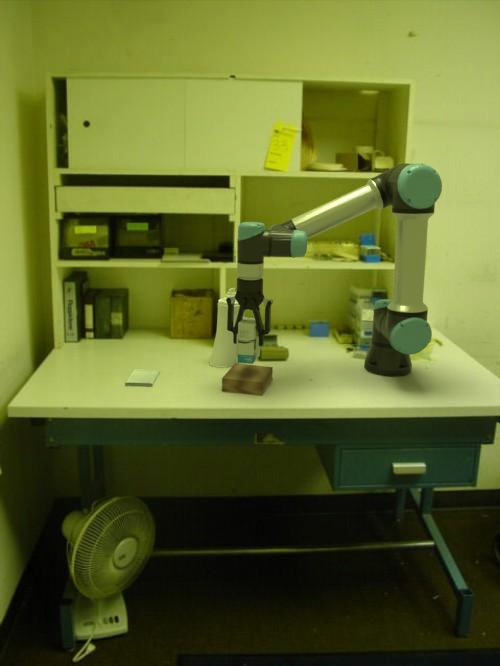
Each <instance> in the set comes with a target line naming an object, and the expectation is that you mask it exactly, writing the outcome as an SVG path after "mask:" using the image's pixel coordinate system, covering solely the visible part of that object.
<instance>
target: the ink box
mask: <svg viewBox="0 0 500 666" xmlns="http://www.w3.org/2000/svg"><path fill="white" fill-rule="evenodd" d="M257 334H258V330H257V325H256V321H255V317H246V316H245V317H244V318H243V319H242V320H241V321H240V322H239V323H238V358H237V362H236V363H237V364H248V365H253V364H254V363H255V362H256V360H257V358H255V353H256V335H257Z"/></svg>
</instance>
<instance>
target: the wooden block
mask: <svg viewBox="0 0 500 666" xmlns="http://www.w3.org/2000/svg"><path fill="white" fill-rule="evenodd" d="M273 369H274V368H273V366H265V365H264V366H263V365H253V364H247V363H237V362H236V363H235V364H234V365H233V366H230V367H229V369H228V370H227V372H226V373H225V374H224V375H223V376H222V378H221V392H227V393H228V392H229V393H236V394H245V395H253V394H254V396H263V395H264V394H265V392H266V390H267V388H268V387H269V385H270V384H271V383H272V381H273V372H274V371H273Z"/></svg>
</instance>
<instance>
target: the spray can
mask: <svg viewBox="0 0 500 666" xmlns="http://www.w3.org/2000/svg"><path fill="white" fill-rule="evenodd" d="M236 292H237V291H236V287H232V288H231V287H230V288H229V289H228V290H227V292H226V294H225V295H224V297H223V298H220V299H218V300H217V301H218V302H217V317H216V319H217V320H216V321H217V322H216V332H215V337H214V341H213V347H212V351H211V356H210V358H209V359H210V360H209V365H210V366H212V367H216V368H231V367H232V366H233V365H234V364H235V363H236V364H237V363H238V362H237V361H238V356H236V345H237V344H234V343H233V332H231V331H228V330H227V319H228V305H227V302H226V299H227V298H228V297H230V296H231V297H233V296H235V295H236ZM239 308H240V305H239V304H238V302H237V301H236V300H235V303H234V322H233V327H234V326H235V323H236V319H237V316H238V312H239ZM245 315H246V311H245V312H244V315H243V318H244V317H246V316H245Z"/></svg>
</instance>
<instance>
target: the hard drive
mask: <svg viewBox="0 0 500 666" xmlns="http://www.w3.org/2000/svg"><path fill="white" fill-rule="evenodd" d="M160 373H161V370H159V369H149V368H148V369H145V368H142V369H141V368H140V369H139V368H136V369H135V368H134V369H133V371H132V372H131V374H130V375H129V377H128V378H127V379H126V381H125V383H124V386H125V387H147V388H148V387H149V388H153V387H154V385H155V383H156V381H157V379H158V377H159V375H160Z"/></svg>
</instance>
